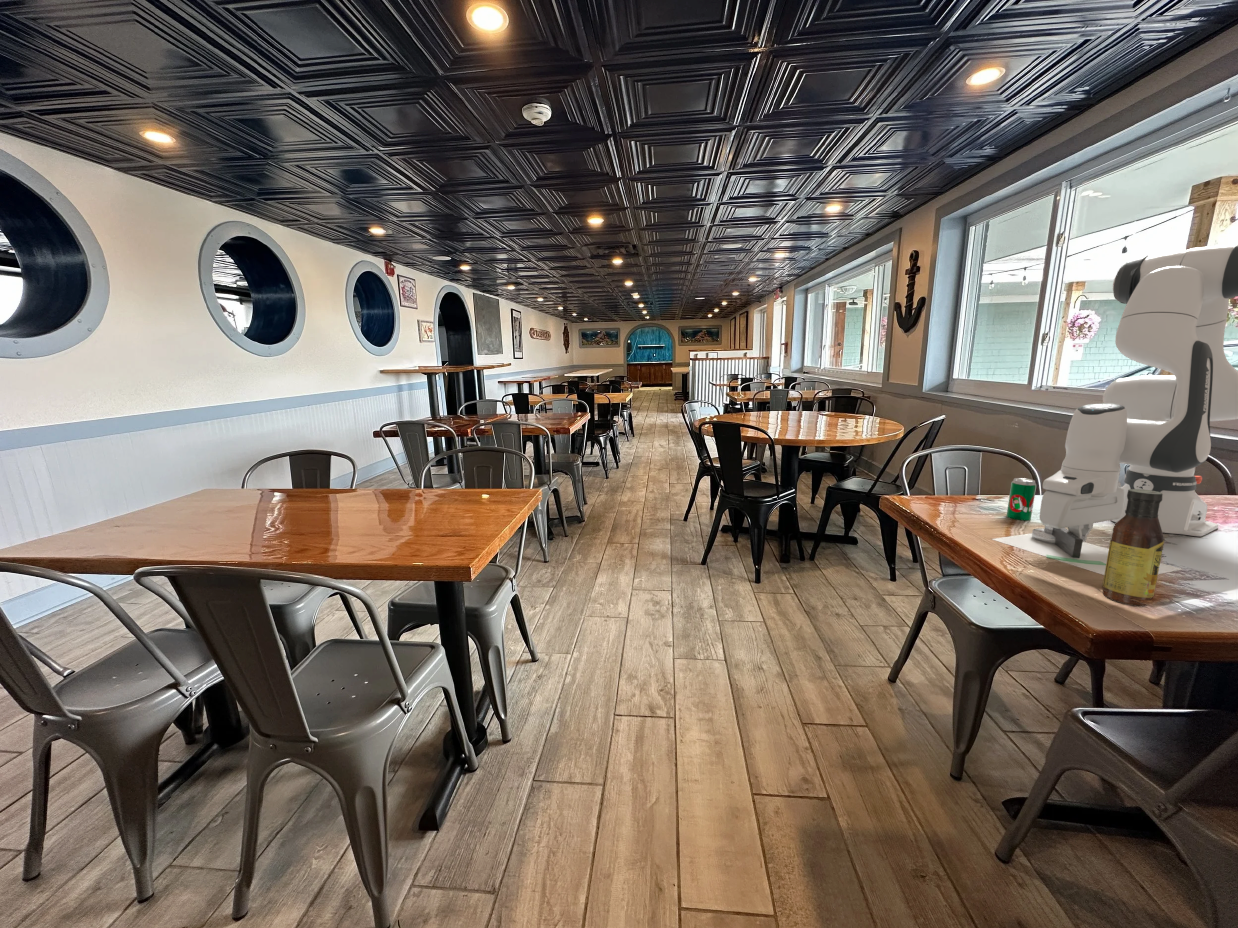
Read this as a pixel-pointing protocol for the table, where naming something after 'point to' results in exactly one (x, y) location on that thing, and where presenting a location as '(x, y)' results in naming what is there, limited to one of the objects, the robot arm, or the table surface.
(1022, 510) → the soda can
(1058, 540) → the grey black long piece
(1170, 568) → the board
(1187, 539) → the table surface
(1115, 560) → the sauce bottle
